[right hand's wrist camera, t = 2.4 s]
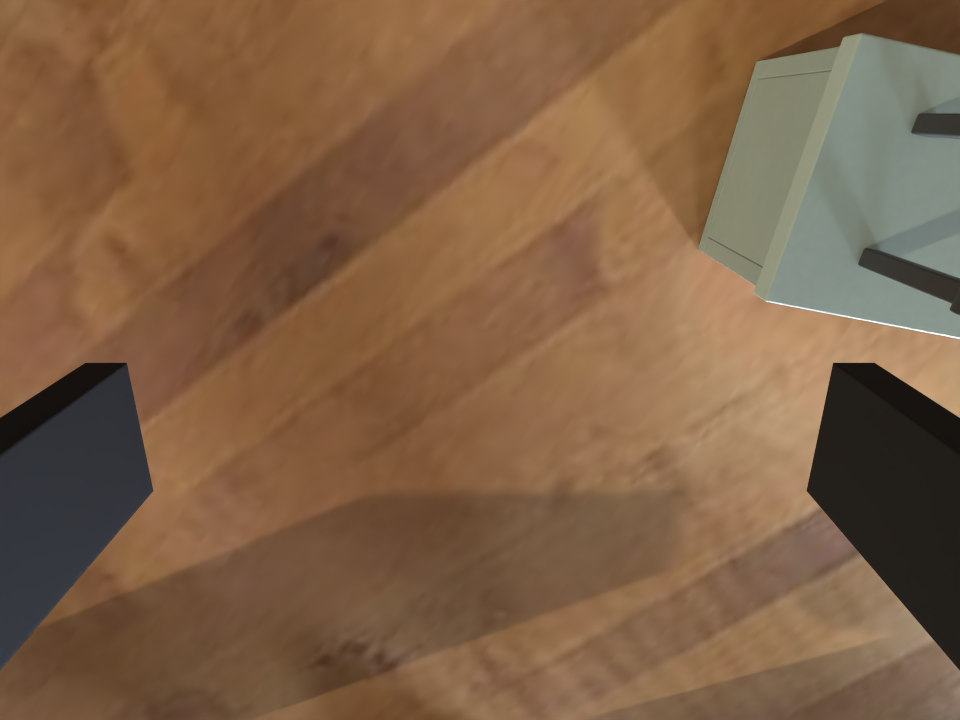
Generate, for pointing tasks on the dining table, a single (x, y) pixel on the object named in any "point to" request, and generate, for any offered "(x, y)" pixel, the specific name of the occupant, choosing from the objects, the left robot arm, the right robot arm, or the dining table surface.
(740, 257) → the chest
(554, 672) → the dining table surface
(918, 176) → the lid
